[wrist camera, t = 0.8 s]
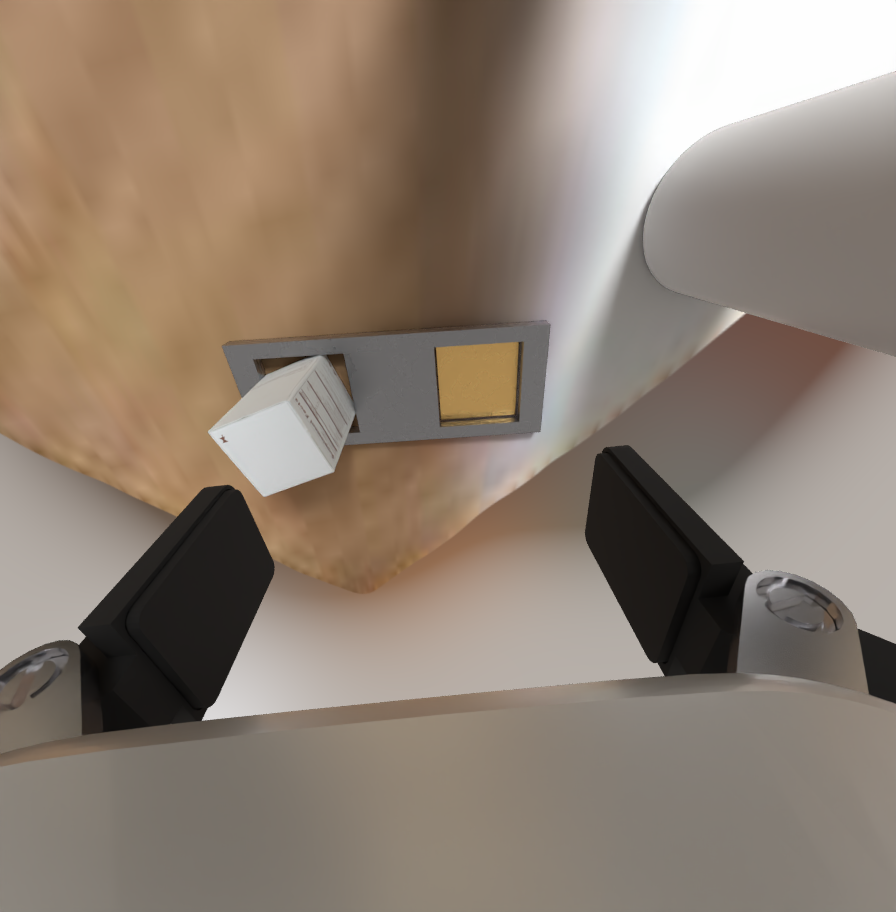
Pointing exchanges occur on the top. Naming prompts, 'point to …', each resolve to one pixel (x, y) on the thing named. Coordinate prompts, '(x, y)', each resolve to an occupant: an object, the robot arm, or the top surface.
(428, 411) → the grey flat plate
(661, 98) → the top surface
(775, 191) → the cylinder vase
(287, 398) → the supplement box
